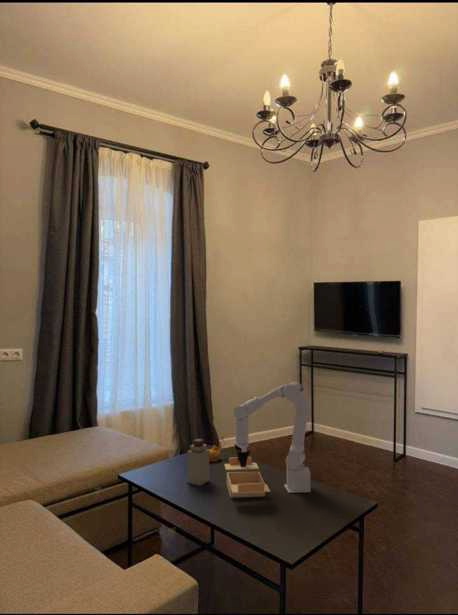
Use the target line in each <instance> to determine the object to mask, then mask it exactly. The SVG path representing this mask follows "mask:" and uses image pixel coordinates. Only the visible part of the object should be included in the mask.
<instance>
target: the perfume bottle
mask: <svg viewBox="0 0 458 615" xmlns="http://www.w3.org/2000/svg"><path fill="white" fill-rule="evenodd" d="M204 441H205V440H204V439H202V438H196V439H193V441H192V442H193V444H191V445H189V448H190V449H189V450H187V462H186V463H187V466H186V467H187V473H186V476H187V480H186V483H188V484H191V485H195V486H199V487H200V486H203V485H205V484H206V483H208V482H209V481H210V461H209V458H210V456H209V450H208V449H209V448H208V449H207V446H208V444H205V442H204Z"/></svg>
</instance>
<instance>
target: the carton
mask: <svg viewBox="0 0 458 615" xmlns="http://www.w3.org/2000/svg"><path fill="white" fill-rule="evenodd" d="M246 483H264V484H266V483H265V481H264V479H263V477H262V474H261V472H260V471H228V472H226V487H227V490H228V495H229V498H230V499H231V498H233V499H234V498H254V497H255V498H257V497H266V492H255V493H232V490H231V487H230V485H238V484H246Z"/></svg>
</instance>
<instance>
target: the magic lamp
mask: <svg viewBox="0 0 458 615" xmlns="http://www.w3.org/2000/svg"><path fill="white" fill-rule="evenodd" d="M224 437H225V435H222V436H221V437H220V442H219V446H216V444H213V446H212V448H210V449H209V448H208V450H209V462H217V461H218V460H219V459H218V458H217V457H218V456H219V455H220V454H221V449H223V448H224V447H225V445H226V442H225V440H224V439H225V438H224ZM222 441H223V443H224V445H223V446H222V447H221V445H222Z"/></svg>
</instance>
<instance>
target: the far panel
mask: <svg viewBox="0 0 458 615" xmlns="http://www.w3.org/2000/svg"><path fill="white" fill-rule="evenodd" d="M224 469H225V471H239V470H240V471H242V470H243V471H244V470H245V471H246V470H247V471H248V470H260V468H259V466H258V464H257V463H256V462H252V456H248V458H247V463H246V467H241V466H240V461H238V456H236V457H235V456H234V457H233V456H231V457H228V463H224Z"/></svg>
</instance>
